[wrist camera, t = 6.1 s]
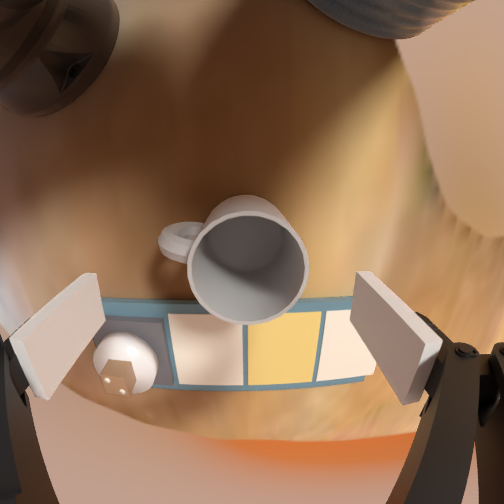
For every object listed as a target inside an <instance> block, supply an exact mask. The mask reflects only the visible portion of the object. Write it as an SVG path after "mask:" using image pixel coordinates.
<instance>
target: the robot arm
mask: <svg viewBox="0 0 504 504" xmlns="http://www.w3.org/2000/svg"><path fill="white" fill-rule="evenodd" d="M118 31H119V11H118V8H117V5H116V3H115V2H114V0H0V104H1V105H2V106H4V107H5V108H6V109H7V110H9V111H11V112H13V113H16V114H20V115H28V116H43V115H47V114H50V113H53V112H56V111H58V110H60V109H61V108H63V107H65V106H66V105H68V104H69V103H71V102H72V101H73V100H75V99H76V98H77V97H78V96H79V95H80V94H82V93H83V92H84V91H85V90H86V89H87V88H88V86H89V85H90V84H91V83H92V82H93V81H94V79H95V78H96V77H97V76H98V74H99V73H100V71H101V70H102V68H103V67H104V65H105V64H106V62H107V60H108V58H109V56H110V54H111V52H112V50H113V48H114V45H115V42H116V39H117V35H118ZM105 321H106V320H105V315H104V311H103V306H102V301H101V296H100V291H99V286H98V280H97V275H96V273H84V274H82V275H81V276H80V277H79V278H77V279H76V280H75V281H74V282H72V283H71V284H70V285H69V286H67V287H66V288H65V289H64V290H63V291H61V292H60V293H59V294H58V295H57V296H55V297H54V298H53V299H52V300H51V301H50V302H48V303H47V304H46V305H45V306H44V307H43V308H41V309H40V310H39V311H38V312H37V313H36V314H35V315H33V316H32V317H31V318H29V319H28V320H27V321H26V322H25V323H24V324H23V325H21V326H20V327H19V329H17V330H16V331H15V332H14V333H13V334H12V335H11V336H10V337H9V338H8V339H6V340H5V341H4V342H3V340H2V337H1V335H0V504H59V502H58V499H57V497H56V494H55V492H54V489H53V486H52V484H51V481H50V478H49V475H48V472H47V470H46V466H45V463H44V460H43V457H42V453H41V450H40V446H39V442H38V439H37V435H36V431H35V427H34V423H33V418H32V413H31V408H30V402H29V397H28V395H27V393H26V391H25V390H26V389H27V387H28V386H30V388H31V389H32V392H33V394H34V396H35V397H39V398H42V399H45V400H49V399H50V398H51V396H52V395H53V393H54V392H55V390H56V389H57V387H58V386H59V384H60V383H61V381H62V380H63V379H64V377H65V376H66V374H67V373H68V371H69V370H70V368H71V367H72V366H73V364H74V363H75V361H76V360H77V359H78V357H79V356H80V354H81V353H82V352H83V350H84V349H85V348H86V346H87V345H88V343H89V342H90V341H91V339H92V338H93V337H94V335H95V334H96V333H97V331H98V330H99V329H100V327H101V326H102V325H103V323H104V322H105ZM350 322H351V323H352V325H353V326H354V328H355V329H356V331H357V333H358V334H359V336H360V337H361V339H362V340H363V342H364V343H365V345H366V347H367V348H368V350H369V351H370V353H371V355H372V356H373V358H374V359H375V361H376V363H377V364H378V366H379V367H380V369H381V371H382V372H383V374H384V375H385V377H386V379H387V380H388V382H389V384H390V385H391V387H392V389H393V390H394V392H395V394H396V395H397V397H398V399H399V400H400V402H401V404H402V405H406V404H410V403H414V402H418V401H419V400H420V398H421V396H422V394H423V391H424V389H425V390H426V392H427V393H428V394H429V397H428V399H427V401H426V403H425V405H424V408H423V410H422V412H421V414H420V416H421V420H420V423H419V426H418V429H417V432H416V435H415V438H414V440H413V443H412V446H411V448H410V451H409V454H408V456H407V459H406V461H405V464H404V466H403V468H402V471H401V473H400V475H399V477H398V480H397V482H396V484H395V486H394V488H393V490H392V492H391V494H390V496H389V498H388V501H387V502H386V504H461V502H462V499H463V495H464V491H465V488H466V483H467V479H468V474H469V470H470V465H471V460H472V453H473V448H474V441H475V447H476V455H477V467H478V486H479V504H504V343H503V342H500V343H496V344H495V345H494V347H493V349H492V352H491V354H479V352H478V351H477V350H476V349H475V348H474V347H473V346H471V345H469V344H466V343H460V342H458V343H453V342H452V341H451V340H450V339H449V338H448V337H447V336H446V335H445V334H444V333H443V332H442V331H441V330H440V329H438V328H437V327H436V326H435V325H434V324H433V323H432V322H431V321H430V320H429V319H428V318H427V317H426V316H424V315H422V314H420V313H418V312H414V311H412V310H411V309H410V308H409V307H408V306H407V305H406V304H405V303H404V302H403V301H402V300H401V299H400V298H399V297H398V296H397V295H396V294H394V293H393V292H392V291H391V290H390V289H389V288H388V287H387V286H386V285H385V284H384V283H383V282H381V281H380V280H379V279H378V278H377V277H376V276H375V275H374V274H373V273H371V272H370V271H358V272H356V279H355V286H354V294H353V300H352V307H351V314H350ZM499 398H500V399H499Z"/></svg>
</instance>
